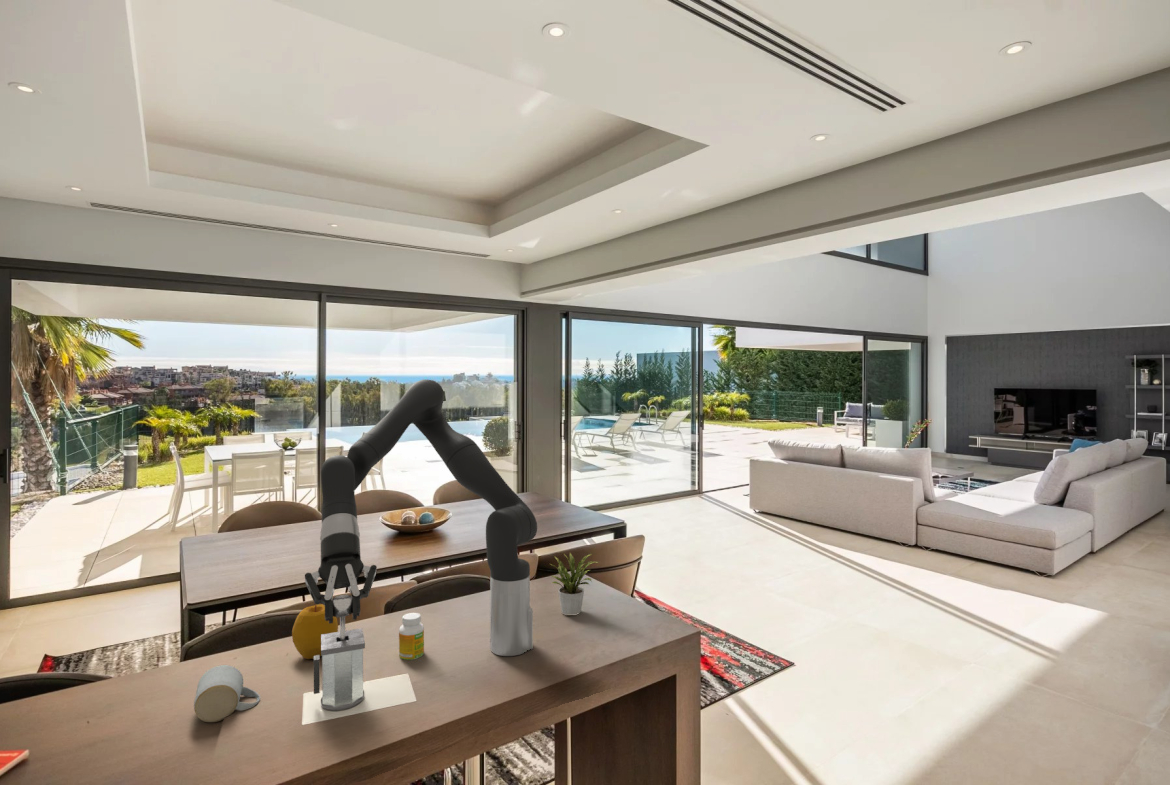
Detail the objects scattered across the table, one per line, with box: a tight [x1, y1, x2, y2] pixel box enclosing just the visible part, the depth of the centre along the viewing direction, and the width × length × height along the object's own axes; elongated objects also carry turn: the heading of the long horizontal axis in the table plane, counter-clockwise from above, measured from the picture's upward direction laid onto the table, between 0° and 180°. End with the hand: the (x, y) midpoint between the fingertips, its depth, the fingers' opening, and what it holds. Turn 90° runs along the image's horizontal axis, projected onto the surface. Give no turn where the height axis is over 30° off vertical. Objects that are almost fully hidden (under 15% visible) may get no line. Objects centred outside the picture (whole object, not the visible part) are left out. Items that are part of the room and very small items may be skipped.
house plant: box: [550, 552, 598, 614], centre depth 162 cm, size 14×14×16 cm
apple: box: [291, 604, 339, 660], centre depth 136 cm, size 10×10×12 cm
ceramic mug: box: [193, 664, 261, 723], centre depth 113 cm, size 11×8×8 cm
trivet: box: [301, 672, 417, 726], centre depth 116 cm, size 20×12×1 cm, turn 114°
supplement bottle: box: [398, 612, 425, 661], centre depth 135 cm, size 5×5×10 cm
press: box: [313, 627, 366, 711], centre depth 115 cm, size 9×8×12 cm
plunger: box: [332, 594, 352, 641], centre depth 115 cm, size 5×5×14 cm
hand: (342, 619), depth 113 cm, fingers closed on plunger, 3 cm apart
